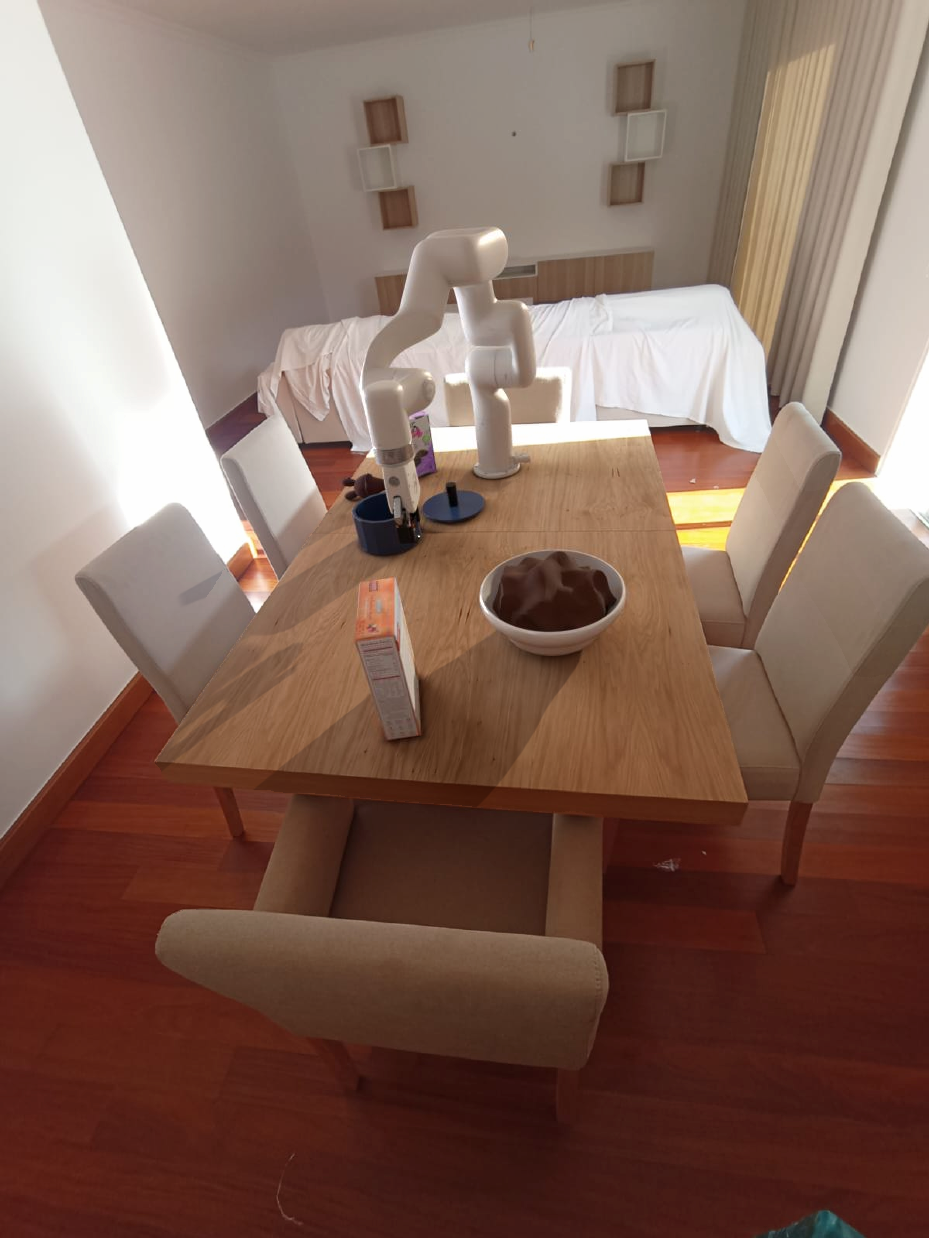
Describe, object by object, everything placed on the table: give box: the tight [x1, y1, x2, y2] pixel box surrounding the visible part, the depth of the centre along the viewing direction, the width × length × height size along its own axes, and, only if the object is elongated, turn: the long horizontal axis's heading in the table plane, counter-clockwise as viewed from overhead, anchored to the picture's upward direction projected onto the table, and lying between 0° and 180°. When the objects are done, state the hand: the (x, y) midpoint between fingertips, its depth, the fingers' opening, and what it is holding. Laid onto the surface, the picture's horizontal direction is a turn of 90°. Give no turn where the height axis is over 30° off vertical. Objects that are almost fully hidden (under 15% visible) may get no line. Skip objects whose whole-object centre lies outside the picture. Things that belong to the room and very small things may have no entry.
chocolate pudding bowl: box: [478, 549, 627, 657], centre depth 104 cm, size 25×25×15 cm
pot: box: [351, 491, 423, 557], centre depth 138 cm, size 15×15×8 cm
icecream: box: [340, 472, 386, 501], centre depth 157 cm, size 7×7×15 cm
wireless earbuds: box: [396, 514, 419, 545], centre depth 123 cm, size 5×7×3 cm, turn 167°
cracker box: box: [354, 576, 422, 741], centre depth 91 cm, size 14×6×21 cm, turn 5°
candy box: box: [409, 410, 437, 478], centre depth 162 cm, size 14×6×16 cm, turn 119°
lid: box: [421, 481, 486, 523], centre depth 147 cm, size 16×16×7 cm
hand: (410, 531), depth 124 cm, fingers closed on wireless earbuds, 7 cm apart
